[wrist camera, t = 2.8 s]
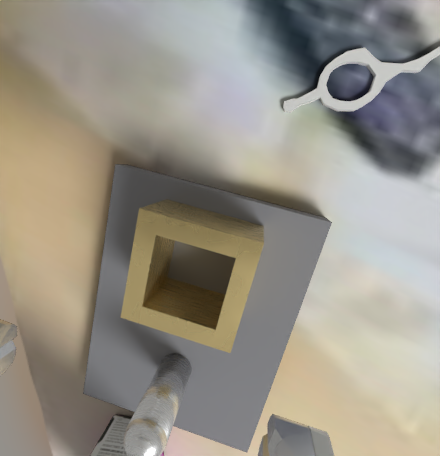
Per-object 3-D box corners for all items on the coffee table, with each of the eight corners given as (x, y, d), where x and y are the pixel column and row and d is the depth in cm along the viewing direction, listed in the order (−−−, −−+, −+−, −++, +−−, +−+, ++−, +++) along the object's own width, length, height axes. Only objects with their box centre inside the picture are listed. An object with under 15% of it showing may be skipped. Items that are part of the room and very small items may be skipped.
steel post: (164, 348, 20) (118, 433, 13) (194, 359, 19) (162, 450, 13) (158, 374, 20) (111, 467, 14) (188, 384, 20) (154, 483, 14)
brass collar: (167, 198, 17) (139, 208, 13) (263, 225, 16) (264, 243, 13) (149, 286, 19) (120, 317, 15) (237, 313, 18) (230, 353, 14)
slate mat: (126, 164, 19) (115, 164, 17) (325, 218, 17) (331, 222, 16) (94, 379, 23) (83, 393, 22) (248, 433, 22) (247, 452, 21)
